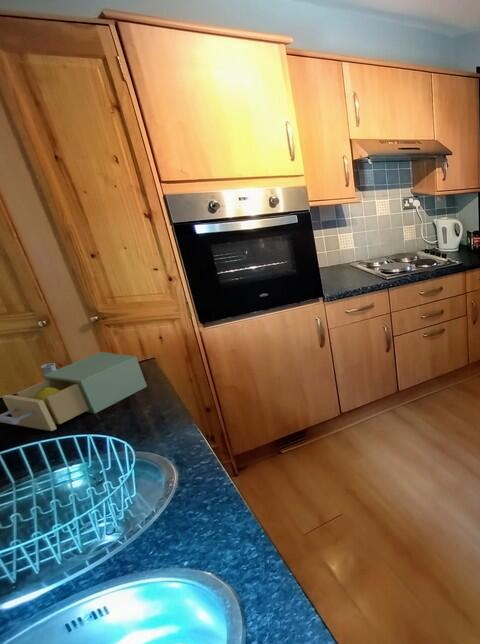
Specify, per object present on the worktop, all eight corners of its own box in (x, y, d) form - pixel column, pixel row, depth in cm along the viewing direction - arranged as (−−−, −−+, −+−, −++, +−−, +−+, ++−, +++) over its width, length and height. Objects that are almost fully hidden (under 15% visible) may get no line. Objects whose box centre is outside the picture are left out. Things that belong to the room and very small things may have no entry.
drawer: (29, 442, 114) (13, 413, 110) (-7, 435, 116) (-24, 406, 113) (108, 402, 131) (97, 375, 127) (75, 397, 133) (63, 371, 130)
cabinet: (94, 413, 127) (80, 380, 123) (58, 407, 130) (42, 375, 126) (147, 386, 141) (136, 356, 137) (112, 381, 144) (100, 351, 140)
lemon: (37, 416, 122) (24, 391, 119) (60, 406, 127) (48, 381, 124) (52, 419, 121) (40, 394, 118) (75, 408, 126) (64, 383, 123)
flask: (52, 390, 139) (38, 362, 135) (81, 386, 141) (69, 358, 137) (39, 402, 132) (24, 372, 128) (70, 398, 135) (56, 368, 131)
